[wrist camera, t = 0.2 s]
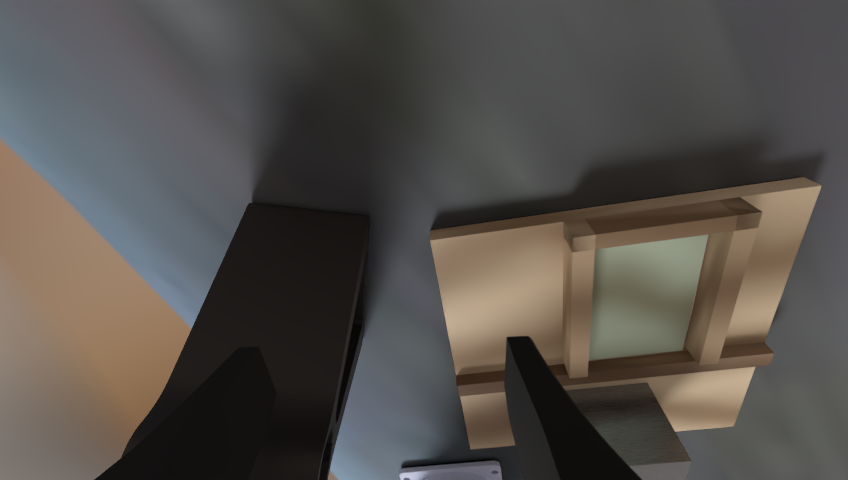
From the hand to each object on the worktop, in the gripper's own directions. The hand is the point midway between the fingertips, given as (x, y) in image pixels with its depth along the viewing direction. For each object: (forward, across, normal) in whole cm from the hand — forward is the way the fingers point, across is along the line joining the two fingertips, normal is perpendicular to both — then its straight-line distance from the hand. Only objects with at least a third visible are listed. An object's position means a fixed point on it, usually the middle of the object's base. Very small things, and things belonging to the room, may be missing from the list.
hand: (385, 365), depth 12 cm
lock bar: (+9, -11, +15) cm, 20 cm away
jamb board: (+10, -11, +9) cm, 18 cm away
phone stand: (+10, +6, +4) cm, 12 cm away
